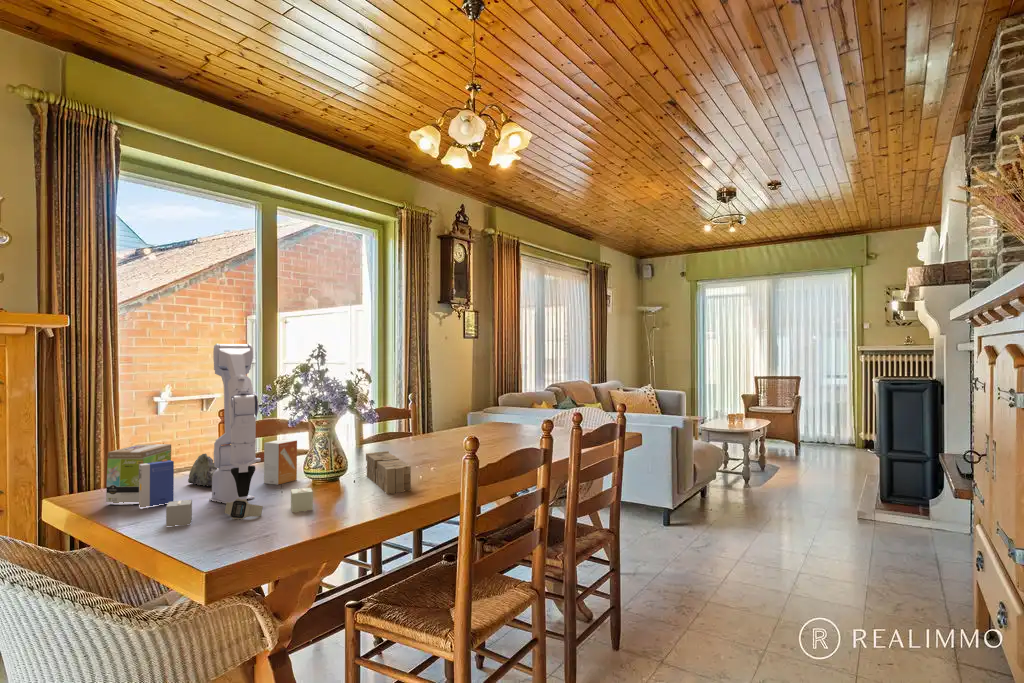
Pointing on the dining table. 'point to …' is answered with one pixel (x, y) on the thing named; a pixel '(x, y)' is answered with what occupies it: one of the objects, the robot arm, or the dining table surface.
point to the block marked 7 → (301, 499)
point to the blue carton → (156, 483)
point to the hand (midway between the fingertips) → (243, 496)
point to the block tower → (388, 472)
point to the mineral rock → (202, 471)
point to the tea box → (131, 469)
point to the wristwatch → (242, 509)
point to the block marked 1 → (179, 513)
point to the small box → (280, 461)
